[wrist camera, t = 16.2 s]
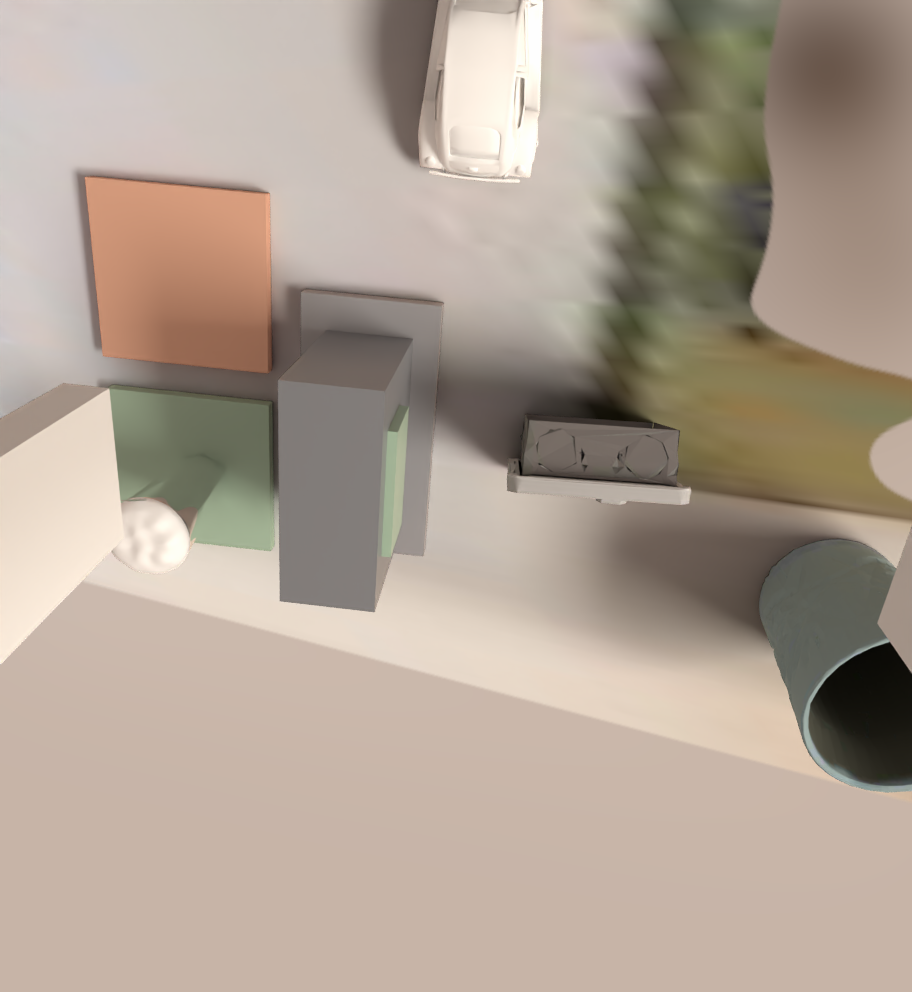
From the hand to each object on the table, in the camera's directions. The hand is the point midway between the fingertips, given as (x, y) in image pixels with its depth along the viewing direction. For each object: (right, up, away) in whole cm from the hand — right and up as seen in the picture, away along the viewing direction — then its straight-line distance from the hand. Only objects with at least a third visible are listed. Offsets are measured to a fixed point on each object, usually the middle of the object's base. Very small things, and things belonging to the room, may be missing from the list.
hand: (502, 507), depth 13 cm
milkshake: (-17, +2, +38) cm, 42 cm away
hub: (-6, +4, +37) cm, 38 cm away
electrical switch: (+7, +4, +36) cm, 37 cm away
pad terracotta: (-16, +13, +34) cm, 40 cm away
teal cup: (+23, -6, +39) cm, 46 cm away
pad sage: (-17, +2, +39) cm, 43 cm away
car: (+1, +23, +28) cm, 36 cm away
